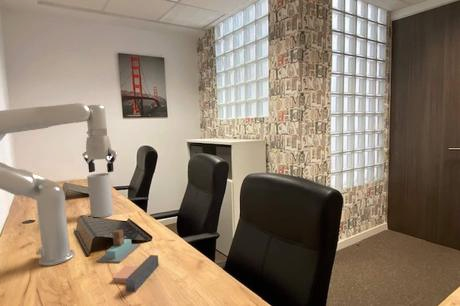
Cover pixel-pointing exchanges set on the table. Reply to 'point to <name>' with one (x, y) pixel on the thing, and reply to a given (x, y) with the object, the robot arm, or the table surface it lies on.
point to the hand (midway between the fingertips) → (101, 171)
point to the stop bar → (141, 273)
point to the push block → (118, 245)
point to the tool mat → (120, 257)
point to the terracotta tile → (124, 274)
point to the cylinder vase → (100, 195)
